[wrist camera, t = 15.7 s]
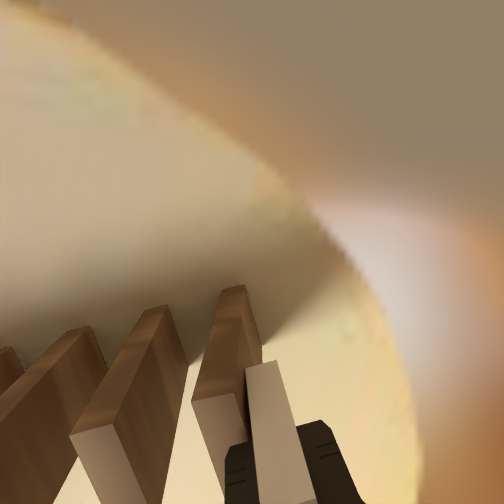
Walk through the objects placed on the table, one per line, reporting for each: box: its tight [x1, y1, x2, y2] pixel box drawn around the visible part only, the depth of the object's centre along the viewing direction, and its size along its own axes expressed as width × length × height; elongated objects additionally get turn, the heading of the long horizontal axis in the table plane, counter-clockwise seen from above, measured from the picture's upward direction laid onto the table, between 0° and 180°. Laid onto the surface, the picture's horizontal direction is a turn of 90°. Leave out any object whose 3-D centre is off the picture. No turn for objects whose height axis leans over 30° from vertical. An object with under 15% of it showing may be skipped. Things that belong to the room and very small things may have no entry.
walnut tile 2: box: [69, 305, 189, 504], centre depth 17 cm, size 2×5×11 cm, turn 14°
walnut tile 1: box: [191, 285, 262, 497], centre depth 17 cm, size 2×5×11 cm, turn 14°
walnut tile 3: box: [0, 325, 108, 504], centre depth 17 cm, size 2×5×11 cm, turn 14°
